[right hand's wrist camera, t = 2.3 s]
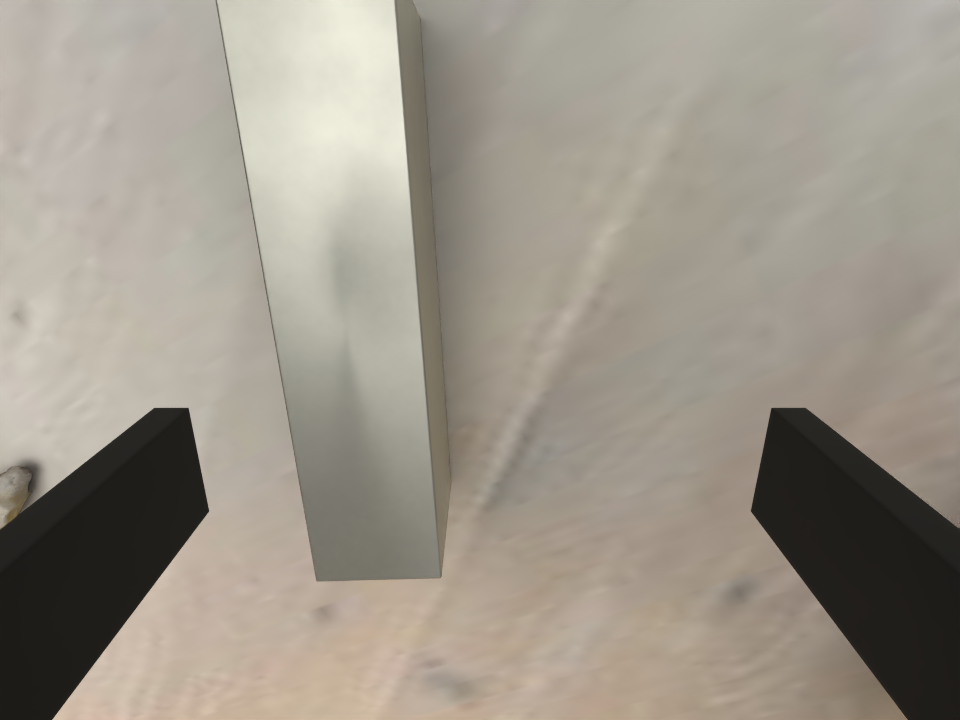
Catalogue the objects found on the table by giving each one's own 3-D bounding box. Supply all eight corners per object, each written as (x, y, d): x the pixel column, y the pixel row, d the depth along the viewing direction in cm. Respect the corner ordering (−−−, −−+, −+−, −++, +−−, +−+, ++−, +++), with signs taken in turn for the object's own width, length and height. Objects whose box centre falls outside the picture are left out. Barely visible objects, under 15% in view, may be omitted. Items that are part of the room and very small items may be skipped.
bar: (451, 483, 33) (441, 578, 26) (353, 486, 34) (315, 582, 26) (420, 16, 25) (392, -44, 18) (290, 22, 25) (208, -35, 18)
